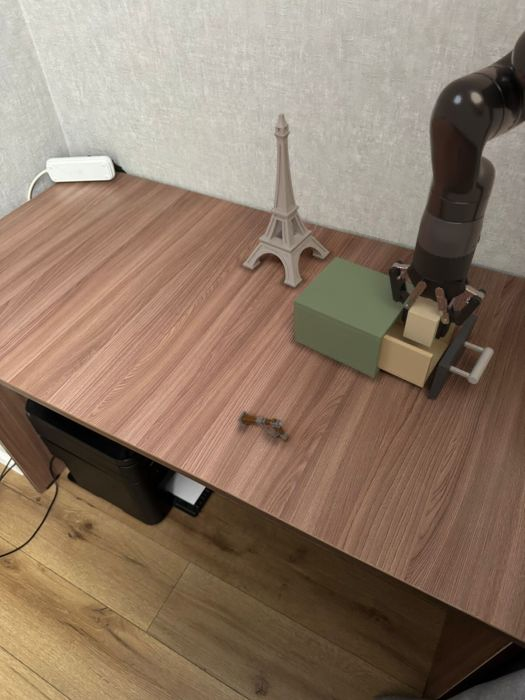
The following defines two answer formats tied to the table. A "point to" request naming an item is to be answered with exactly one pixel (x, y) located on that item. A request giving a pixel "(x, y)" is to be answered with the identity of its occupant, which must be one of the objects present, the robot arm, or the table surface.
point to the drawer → (430, 356)
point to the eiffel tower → (285, 219)
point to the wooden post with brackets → (264, 424)
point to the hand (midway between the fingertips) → (423, 328)
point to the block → (422, 321)
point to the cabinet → (347, 314)
